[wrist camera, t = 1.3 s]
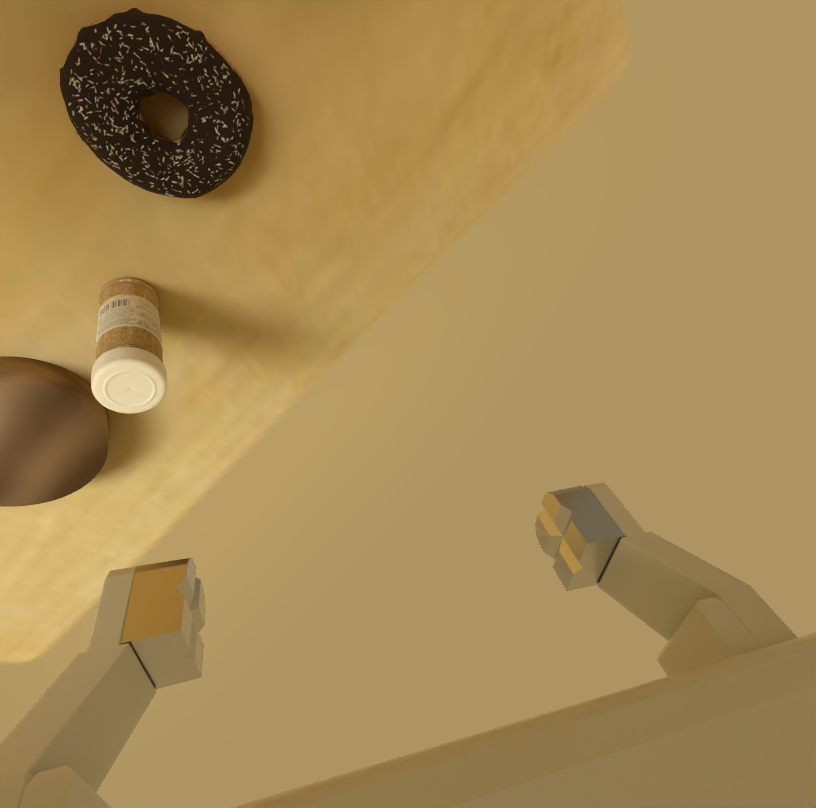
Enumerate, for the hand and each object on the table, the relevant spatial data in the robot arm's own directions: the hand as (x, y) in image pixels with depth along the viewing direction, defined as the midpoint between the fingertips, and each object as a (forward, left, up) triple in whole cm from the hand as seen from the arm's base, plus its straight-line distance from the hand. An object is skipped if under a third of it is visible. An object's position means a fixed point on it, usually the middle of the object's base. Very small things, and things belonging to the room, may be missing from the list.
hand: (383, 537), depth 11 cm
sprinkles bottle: (+3, -14, -38) cm, 41 cm away
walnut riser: (+3, -30, -38) cm, 49 cm away
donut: (-4, 0, -39) cm, 39 cm away
